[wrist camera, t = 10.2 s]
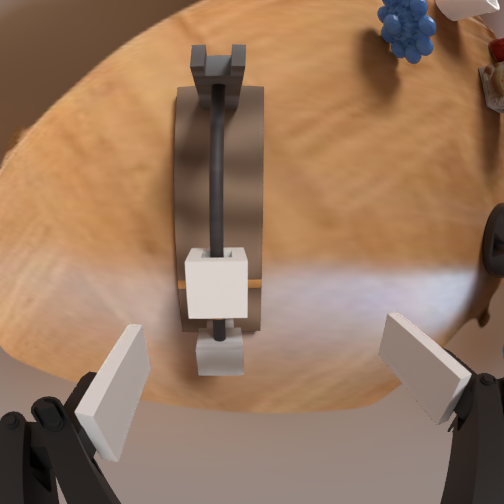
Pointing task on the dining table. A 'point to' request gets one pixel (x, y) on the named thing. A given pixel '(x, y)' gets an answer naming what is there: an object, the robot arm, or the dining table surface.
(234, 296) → the sleeve
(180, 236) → the sliding block rail
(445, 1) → the foam cup
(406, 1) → the blue knobbed wheel
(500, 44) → the soda can
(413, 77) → the dining table surface
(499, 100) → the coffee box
